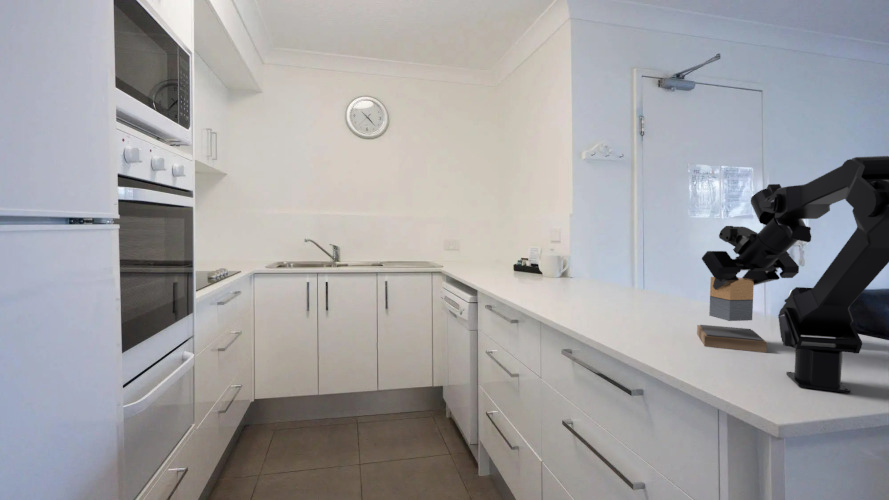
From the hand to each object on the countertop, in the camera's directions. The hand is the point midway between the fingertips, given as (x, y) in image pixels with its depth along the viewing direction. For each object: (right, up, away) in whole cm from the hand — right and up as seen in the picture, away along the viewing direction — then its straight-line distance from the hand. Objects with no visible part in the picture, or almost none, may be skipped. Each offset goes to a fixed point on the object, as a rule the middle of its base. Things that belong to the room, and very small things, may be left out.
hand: (726, 287), depth 93 cm
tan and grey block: (0, -7, -1) cm, 7 cm away
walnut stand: (0, -12, -1) cm, 12 cm away
